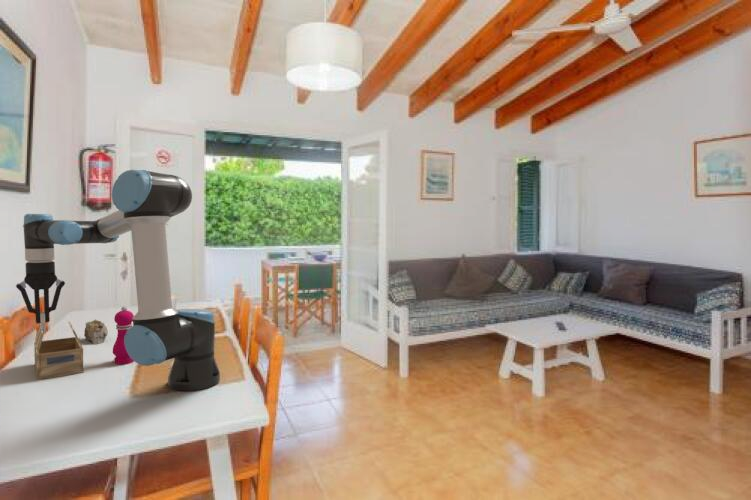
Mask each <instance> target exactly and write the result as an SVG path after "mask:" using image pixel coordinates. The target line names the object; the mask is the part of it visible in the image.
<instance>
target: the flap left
mask: <svg viewBox="0 0 751 500" xmlns="http://www.w3.org/2000/svg"><path fill="white" fill-rule="evenodd" d="M44 334H45V333H43V330H41V325H40V324H39V325H38V329H37V332H36V336H35V340H34V342H36V347H37V352H39V350H40V346H41V343H42V341H43V339H44Z"/></svg>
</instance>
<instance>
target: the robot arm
mask: <svg viewBox="0 0 751 500" xmlns="http://www.w3.org/2000/svg"><path fill="white" fill-rule="evenodd" d="M111 189H112V190H111V200H112V204H113V206H115V209H117V210H116V211H114V212H112V213H109V214H108V215H105V216H103V217H101V218H99V219H97V220H96V219H95V220H70V219H69V220H67V219H63V220H62V219H59V220H58V219H57V220H54V218H53V215H52V214H51V213H50V214H49V213H26V214H25V215H24V216H23V225H22V227H23V236H24V237H23V238H24V241H23V243H24V259H25V261H26V262H25V277H24V279H23V281H21V282H18V283H16V285H15V287H16V289H18V291H19V292H20V293H21V295H22V299H23V301H24V303H25V306H26V309H27V311H28V313H30V314H31V313H32V314H35V323H36V324H39V325H41V330H43V333H44V334H47V333H46V331H47V330H46V328H47V327H46V323H49V322H50V321H51V320H50V319H51V318H50V313H51V312H53V311H56V310H57V306H58V302H59V299H60V295H61V291H62V288H63V287H64V286H65V284H66V282H65V281H64V280H61V279H60V278H58V276H57V275H56V266H55V264H56V263H55V261H54V260H55V245H61V246H65V245H66V246H67V245H68V246H69V245H77V244H82V245H83V244H108V243H109V244H110V243H114V242H117V240H118V238H120V236H121V235H123V234H126V233H128V232H131V239H132V252H133V264H134V275H135V286H136V287H135V289H136V299H137V301H136V302H137V310H138V311H137V312H136V313H135V315H134V317H133V321H132V327H131V328H129V329H128V330H127V332H126V334H125V337H124V344H125V348H126V351H127V353H128V355H129V356H130V357H131V358H132V359H133V360H134V362H135V363H136V364H138V365H140V366H145V367H150V366H155V365H159V364H162V363H164V362H166V361H169V360H172V359H174V360H173V363H172V365H171V368H170V372H169V375H168V378H167V387H168V388H170V389H171V390H174V391H178V392H179V391H180V392H190V391H191V392H192V391H200V390H205V389H208V388H211V387H213V386H216V385H217V384H218V383H220V380H221V372H220V368H219V366H218V364H217V360H216V358H215V333H216V332H215V328H216V327H215V326H216V322H215V314H214V313H213V311H210V310H208V309H198V308H180V309H175V308H174V307H173V304H172V303H173V302H172V300H173V299H172V292H171V289H172V288H171V281H170V279H171V278H170V265H169V254H168V252H169V251H168V243H167V233H166V231H167V230H166V224H167V223H168V222H169V221H170V220H171V218H172V217H175V216H177V215H179V214H181V213H184V212H185V211H187V209H189V207H190V205H191V203H192V199H193V193H192V189H191V187H190V186H189V184H188V183H187V182H186V180H185V179H183V178H181V177H180V176H177V175H174V174H167V173H160V172H154V171H150V170H149V171H148V170H144V169H143V170H141V169H129V170H124V171H123V172H122V173H120V174H119V175H118V176H117V179H116V180H115V181H114V183H113V186H112V188H111ZM54 284H55V286H56V289H55V291H54V294H53V299H52V303H51V306H50V288H52V286H53V285H54ZM27 285H28V287H29V288H31V289H32V290H33V294H34V297H33V298H34V308H33V305H32V302H31V301H30V299H29V296H28V292H27V290H26V288H27ZM40 290H43V305H44V306H43V309H44V310H43V311H44V312H42V311H41V302H40V301H41V300H40Z"/></svg>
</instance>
